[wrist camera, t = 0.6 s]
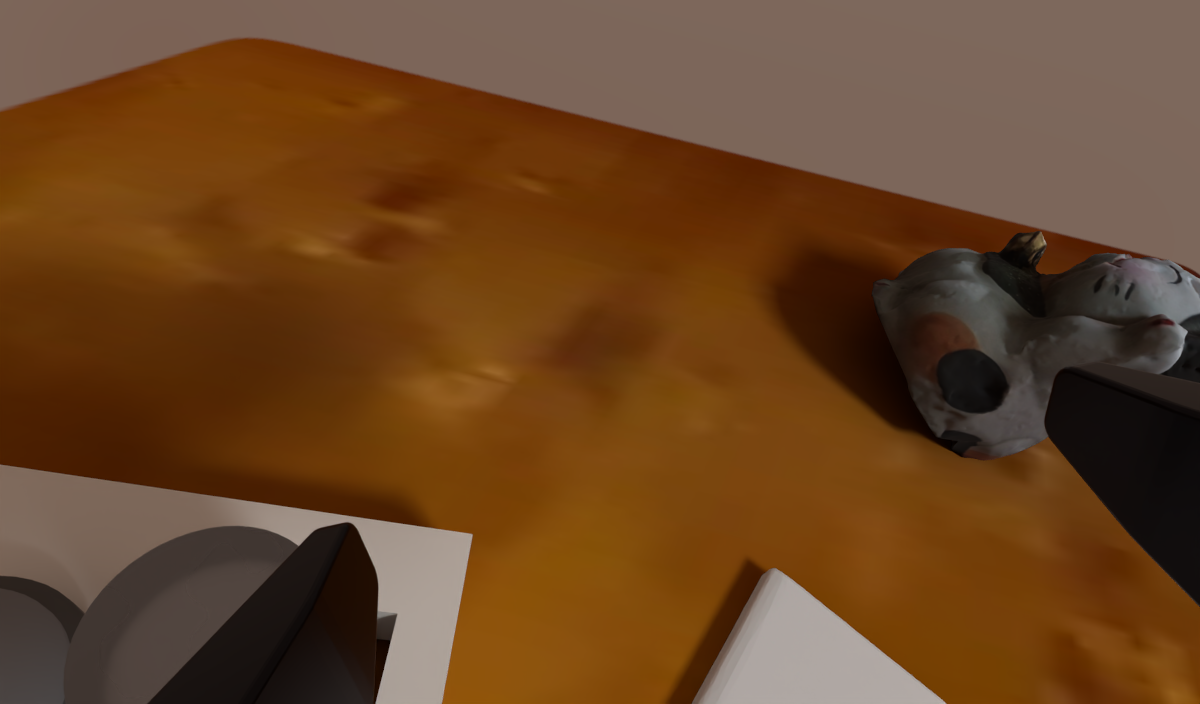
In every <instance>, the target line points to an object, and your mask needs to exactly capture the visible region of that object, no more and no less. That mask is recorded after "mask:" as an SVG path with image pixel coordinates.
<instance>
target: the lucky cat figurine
mask: <svg viewBox="0 0 1200 704" xmlns="http://www.w3.org/2000/svg"><path fill="white" fill-rule="evenodd" d="M1046 246H1047V245H1046V242H1045V240H1044V238H1043V235H1042V233H1041V231H1037V232H1031V233H1018V234H1016V235H1015V236H1014V237H1013V238H1012V239H1011V240H1010V241H1009V243H1008V244H1007V245H1006V247H1005V248H1004V249H1003V250H1002V251H1001V252H999V253H996V252H986V253H984V254H980V253H978V252H975V251H972V250H970V249H962V248H960V249H955V248H947V249H941V250H937V251H934V252H931V253H929V254H926V255H925V256H922V257H920V258H918V259H917V260H915V261H914V262H913V263H912V264H910V265H909V266H908V267H907V268H906V269H905V270H903V271H901V272H900V273H899V276H898V277H897V278H896V279H895V280H888V279H882V280H878V281H875V282H874V283H873V291H872V296H873V299H874V304H875V308H876V311H877V314H878V316H879V318H880V321H881V323H882V325H883V328H884V330H885V332H886V335H887V337H888V339H889V342H890V344H891V346H892V348H893V351H894V353H895V355H896V357H897V359H898V361H899V364H900V366H901V368H902V370H903V373H904V375H905V377H906V380H907V383H908V390H909V392H910V395H911V397H912V399H913V401H914V403H915V405H916V407H917V408H918V410H919V412H920V413H921V415H922V416H923V418H924V419H925V421H926V423H927V424H928V426H929V428H930V429H931V431H932V432H933V433H934V435H935V437H938V438H941V439H947V440H953V441H952V446H951V450H953V451H955V452H957V453H959V454H960V455H961V456H962V457H964V458H967V457H968V458H974V459H979V460H992V459H996V458H1000V457H1003V456H1007V455H1011V454H1014V453H1017V452H1020V451H1022V450H1024V449H1027V448H1029V447H1031V446H1033V445H1035V444H1037V443H1039V442H1041V441H1042V440H1044V439H1045V438H1047V437H1048V435H1047V433H1046V430H1045V426H1044V418H1045V413H1046V409H1047V405H1048V401H1049V397H1050V393H1051V389H1052V385H1053V381H1054V378H1055V375H1056V374H1057V373H1058V372H1059V370H1060V369H1062V368H1064V367H1067V366H1071V365H1076V364H1080V363H1085V362H1091V361H1097V362H1103V363H1108V364H1113V365H1117V366H1122V367H1127V368H1131V369H1136V370H1141V371H1145V372H1150V373H1155V374H1159V375H1164V376H1169V377H1174V378H1178V379H1183V380H1188V381H1192V382H1197V383H1200V279H1199V278H1196V277H1195V276H1193V275H1192V274H1190V273H1189V272H1187V271H1185V270H1183V269H1182V268H1181V267H1180V266H1178V265H1177V264H1175V263H1174V262H1172V261H1170V260H1163V261H1161V260H1159V259H1156V258H1150V257H1143V258H1140V259H1138V258H1132V257H1131V256H1130V255H1129V254H1128V255H1125V254H1113V253H1112V254H1109V253H1105V254H1095V255H1093V256H1091V257H1089V258H1088V259H1087V260H1085V261H1084V262H1082V263H1080V264H1077V265H1076V266H1074V267H1073V268H1071V269H1069V270H1068V271H1066V272H1064V273H1060V274H1048V275H1045V274H1040V273H1038V272H1037V271H1036V268H1035V267H1036V265H1037V264H1038V262H1039V260H1040V258H1041V257H1042V255H1043V253H1044V251H1045V249H1046Z"/></svg>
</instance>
